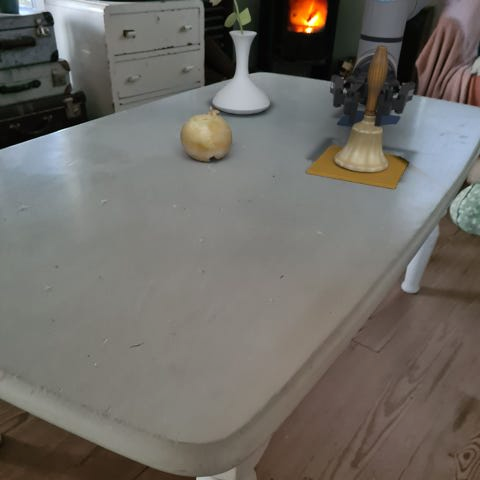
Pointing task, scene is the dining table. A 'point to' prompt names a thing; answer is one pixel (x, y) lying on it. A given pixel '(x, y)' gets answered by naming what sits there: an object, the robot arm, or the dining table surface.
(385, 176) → the ochre mat
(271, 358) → the dining table surface
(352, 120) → the robot arm
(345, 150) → the hand bell
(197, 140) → the onion
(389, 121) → the blue mat
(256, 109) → the flower in vase
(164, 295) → the dining table surface
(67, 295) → the dining table surface
